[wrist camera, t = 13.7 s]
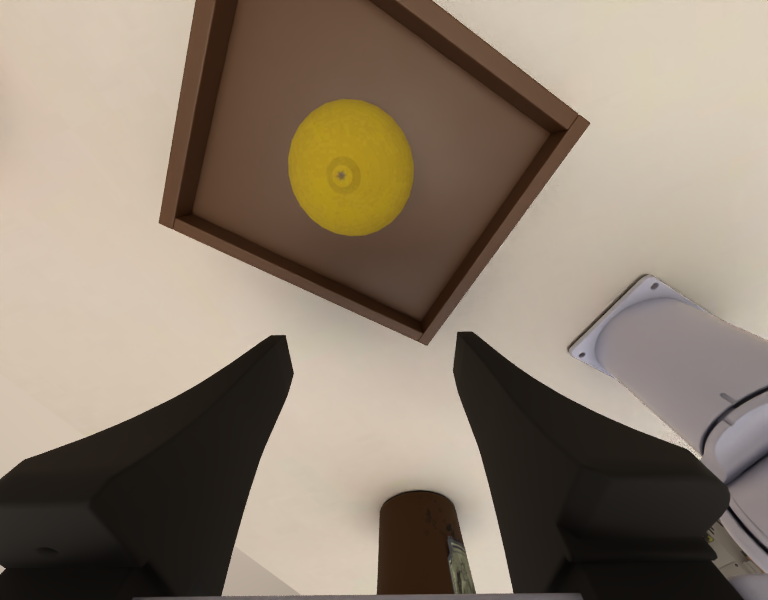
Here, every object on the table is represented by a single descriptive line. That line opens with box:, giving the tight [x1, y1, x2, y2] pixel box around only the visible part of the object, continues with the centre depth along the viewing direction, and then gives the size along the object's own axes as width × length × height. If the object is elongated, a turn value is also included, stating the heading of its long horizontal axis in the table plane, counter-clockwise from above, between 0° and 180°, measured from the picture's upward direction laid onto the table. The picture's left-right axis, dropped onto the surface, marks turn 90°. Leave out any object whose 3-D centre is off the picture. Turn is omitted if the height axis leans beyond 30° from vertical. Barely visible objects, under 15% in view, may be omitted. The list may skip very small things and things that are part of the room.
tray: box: [159, 0, 590, 345], centre depth 16 cm, size 19×16×2 cm
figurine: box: [702, 519, 765, 579], centre depth 26 cm, size 9×12×15 cm
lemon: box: [288, 99, 414, 236], centre depth 13 cm, size 6×6×8 cm
